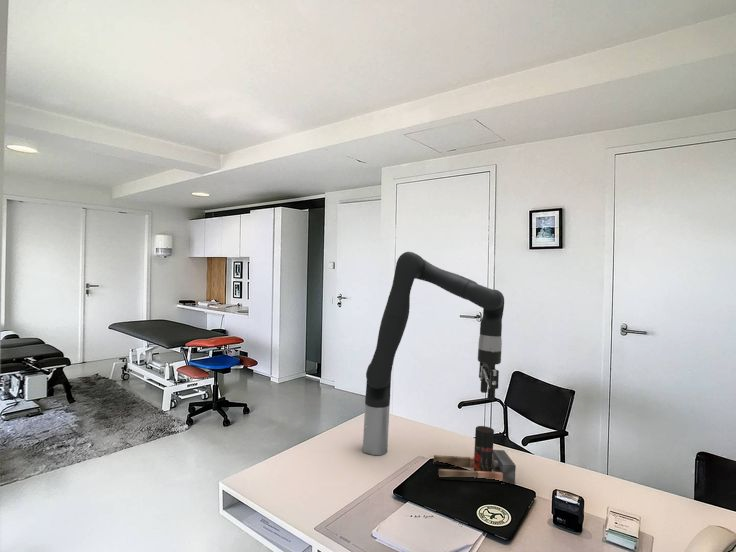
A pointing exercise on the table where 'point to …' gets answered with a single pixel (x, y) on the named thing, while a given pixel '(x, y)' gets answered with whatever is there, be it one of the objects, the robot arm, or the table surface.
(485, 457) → the deodorant
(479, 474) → the guide channel
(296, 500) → the table surface
